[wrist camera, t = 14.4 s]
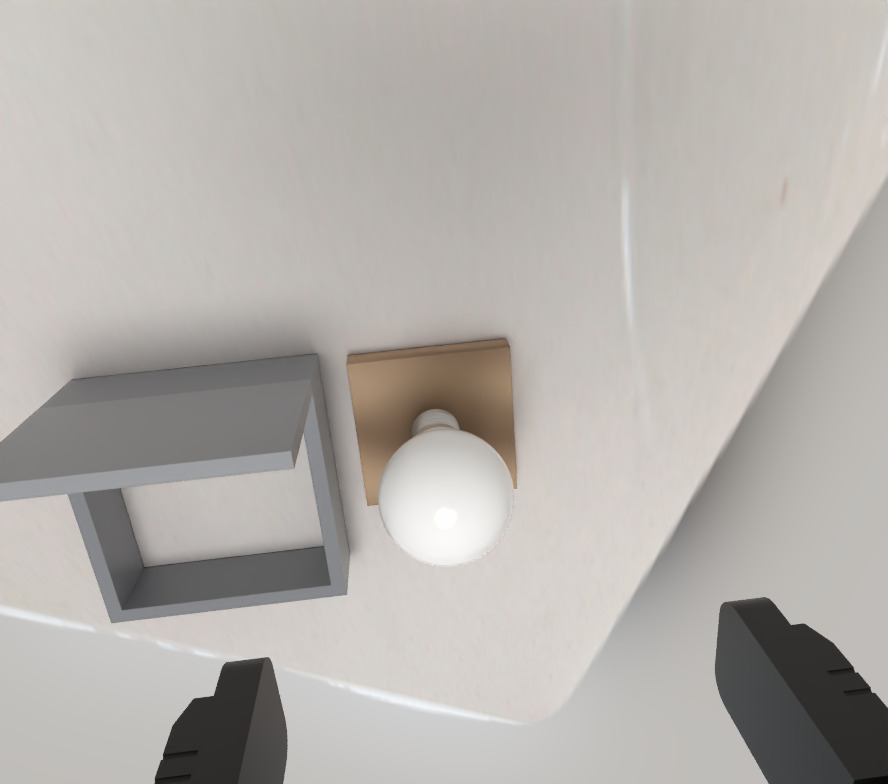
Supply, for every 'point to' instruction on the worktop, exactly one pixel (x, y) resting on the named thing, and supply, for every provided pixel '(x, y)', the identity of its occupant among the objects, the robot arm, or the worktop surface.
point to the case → (183, 475)
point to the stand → (430, 399)
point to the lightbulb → (445, 493)
